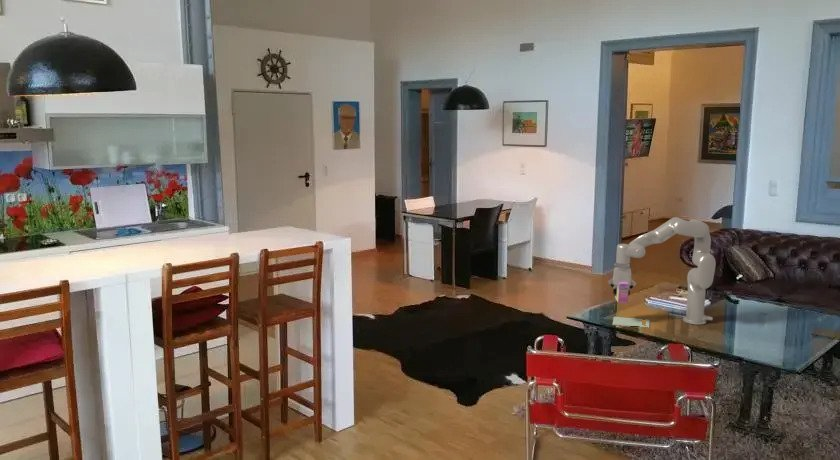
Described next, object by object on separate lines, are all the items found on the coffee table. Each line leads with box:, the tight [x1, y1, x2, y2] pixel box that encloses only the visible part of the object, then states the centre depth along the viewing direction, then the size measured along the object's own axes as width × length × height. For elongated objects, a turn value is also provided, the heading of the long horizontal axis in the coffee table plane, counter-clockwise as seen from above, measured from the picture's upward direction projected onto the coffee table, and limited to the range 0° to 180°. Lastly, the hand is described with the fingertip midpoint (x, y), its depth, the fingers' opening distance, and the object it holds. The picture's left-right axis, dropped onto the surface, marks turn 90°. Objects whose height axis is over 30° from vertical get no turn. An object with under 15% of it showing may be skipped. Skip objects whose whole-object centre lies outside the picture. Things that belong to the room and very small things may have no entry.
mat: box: [612, 316, 650, 329], centre depth 389 cm, size 20×14×1 cm
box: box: [614, 282, 629, 304], centre depth 387 cm, size 10×6×12 cm, turn 174°
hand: (621, 295), depth 388 cm, fingers closed on box, 6 cm apart
